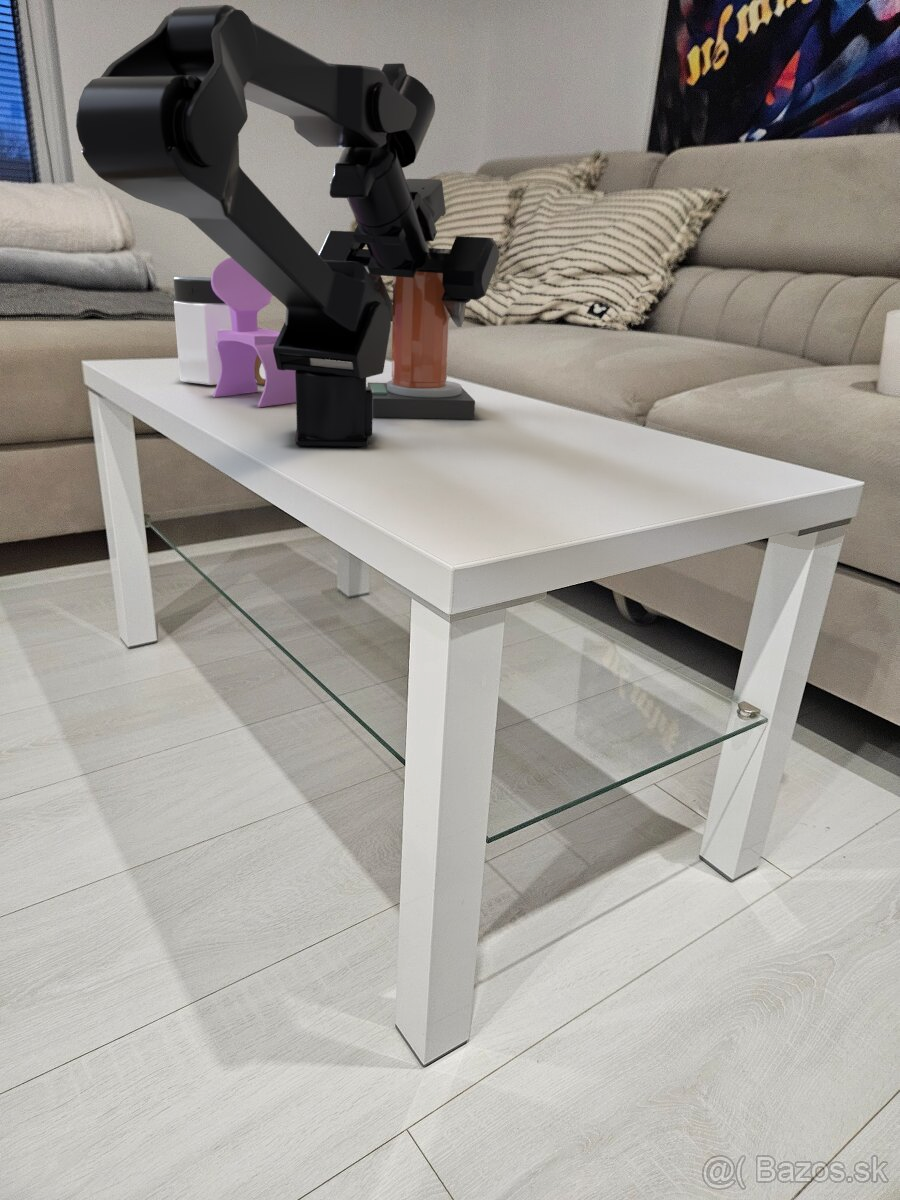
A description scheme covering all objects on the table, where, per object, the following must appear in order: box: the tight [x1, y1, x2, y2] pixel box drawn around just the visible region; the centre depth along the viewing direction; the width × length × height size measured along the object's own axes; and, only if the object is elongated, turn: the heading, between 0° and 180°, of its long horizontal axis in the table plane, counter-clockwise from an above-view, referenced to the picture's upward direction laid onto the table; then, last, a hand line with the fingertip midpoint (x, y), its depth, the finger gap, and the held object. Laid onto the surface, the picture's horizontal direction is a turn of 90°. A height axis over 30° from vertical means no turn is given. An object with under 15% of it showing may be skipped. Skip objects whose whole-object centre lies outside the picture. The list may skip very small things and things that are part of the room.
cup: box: [391, 272, 450, 388], centre depth 90 cm, size 6×6×13 cm
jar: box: [173, 276, 232, 386], centre depth 103 cm, size 9×8×12 cm
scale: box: [367, 379, 476, 420], centre depth 93 cm, size 11×11×3 cm
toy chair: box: [211, 257, 296, 408], centre depth 92 cm, size 8×9×15 cm
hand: (426, 321), depth 91 cm, fingers open, 8 cm apart
